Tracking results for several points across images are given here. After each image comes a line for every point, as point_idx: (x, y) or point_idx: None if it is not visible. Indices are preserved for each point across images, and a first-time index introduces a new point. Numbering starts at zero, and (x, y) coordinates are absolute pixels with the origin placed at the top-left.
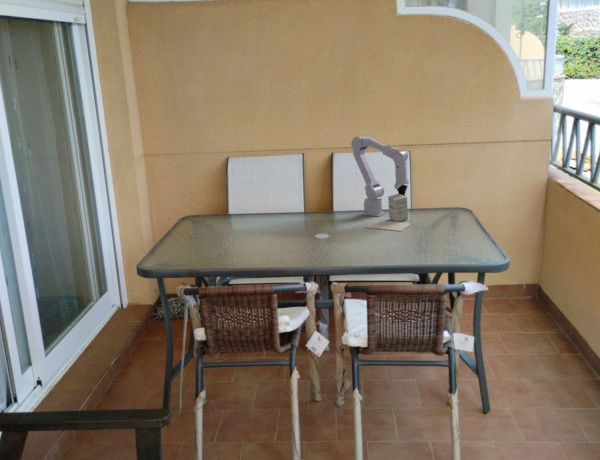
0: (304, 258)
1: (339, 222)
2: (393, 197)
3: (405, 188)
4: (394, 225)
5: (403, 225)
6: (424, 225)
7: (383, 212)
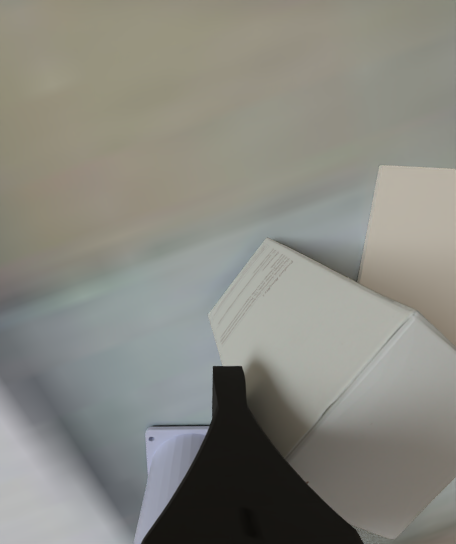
0: None
1: None
2: (438, 473)
3: (304, 523)
4: (445, 266)
5: (441, 207)
6: (394, 47)
7: (153, 436)
